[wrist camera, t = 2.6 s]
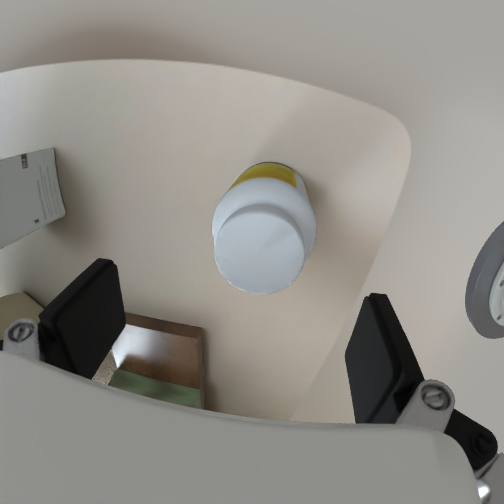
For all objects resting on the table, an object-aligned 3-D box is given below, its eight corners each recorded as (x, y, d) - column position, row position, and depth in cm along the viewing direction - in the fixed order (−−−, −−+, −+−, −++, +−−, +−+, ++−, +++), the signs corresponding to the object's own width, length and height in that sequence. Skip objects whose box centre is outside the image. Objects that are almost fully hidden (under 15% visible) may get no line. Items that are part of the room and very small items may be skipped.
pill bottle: (222, 176, 25) (174, 219, 15) (292, 149, 23) (296, 172, 13) (250, 241, 27) (226, 320, 17) (318, 219, 26) (336, 289, 15)
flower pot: (104, 336, 36) (41, 428, 21) (88, 391, 44) (48, 460, 28) (11, 262, 33) (-63, 323, 18) (13, 333, 41) (-35, 388, 26)
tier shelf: (202, 327, 32) (178, 387, 24) (207, 438, 44) (196, 480, 36) (110, 308, 33) (73, 355, 25) (144, 422, 45) (128, 460, 37)
